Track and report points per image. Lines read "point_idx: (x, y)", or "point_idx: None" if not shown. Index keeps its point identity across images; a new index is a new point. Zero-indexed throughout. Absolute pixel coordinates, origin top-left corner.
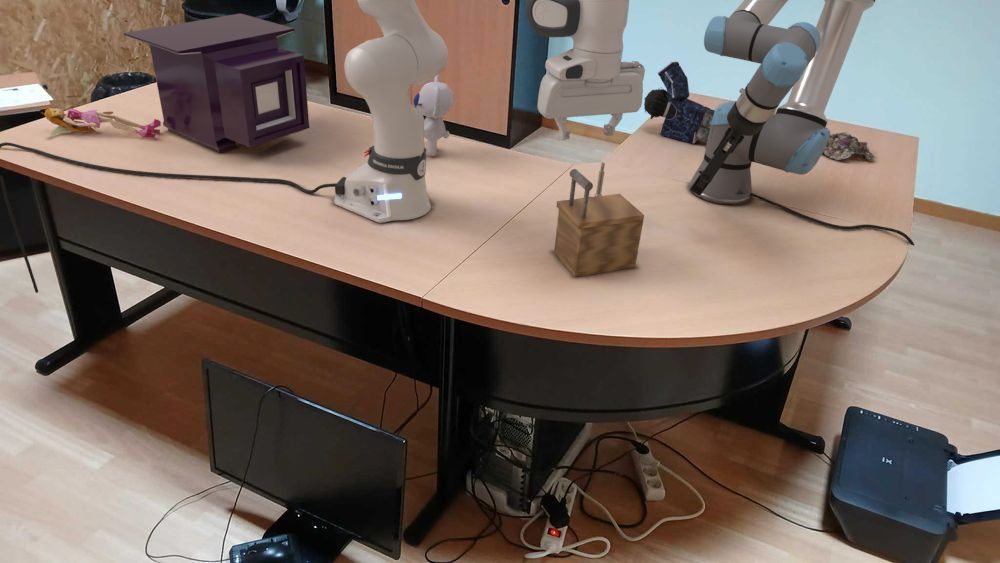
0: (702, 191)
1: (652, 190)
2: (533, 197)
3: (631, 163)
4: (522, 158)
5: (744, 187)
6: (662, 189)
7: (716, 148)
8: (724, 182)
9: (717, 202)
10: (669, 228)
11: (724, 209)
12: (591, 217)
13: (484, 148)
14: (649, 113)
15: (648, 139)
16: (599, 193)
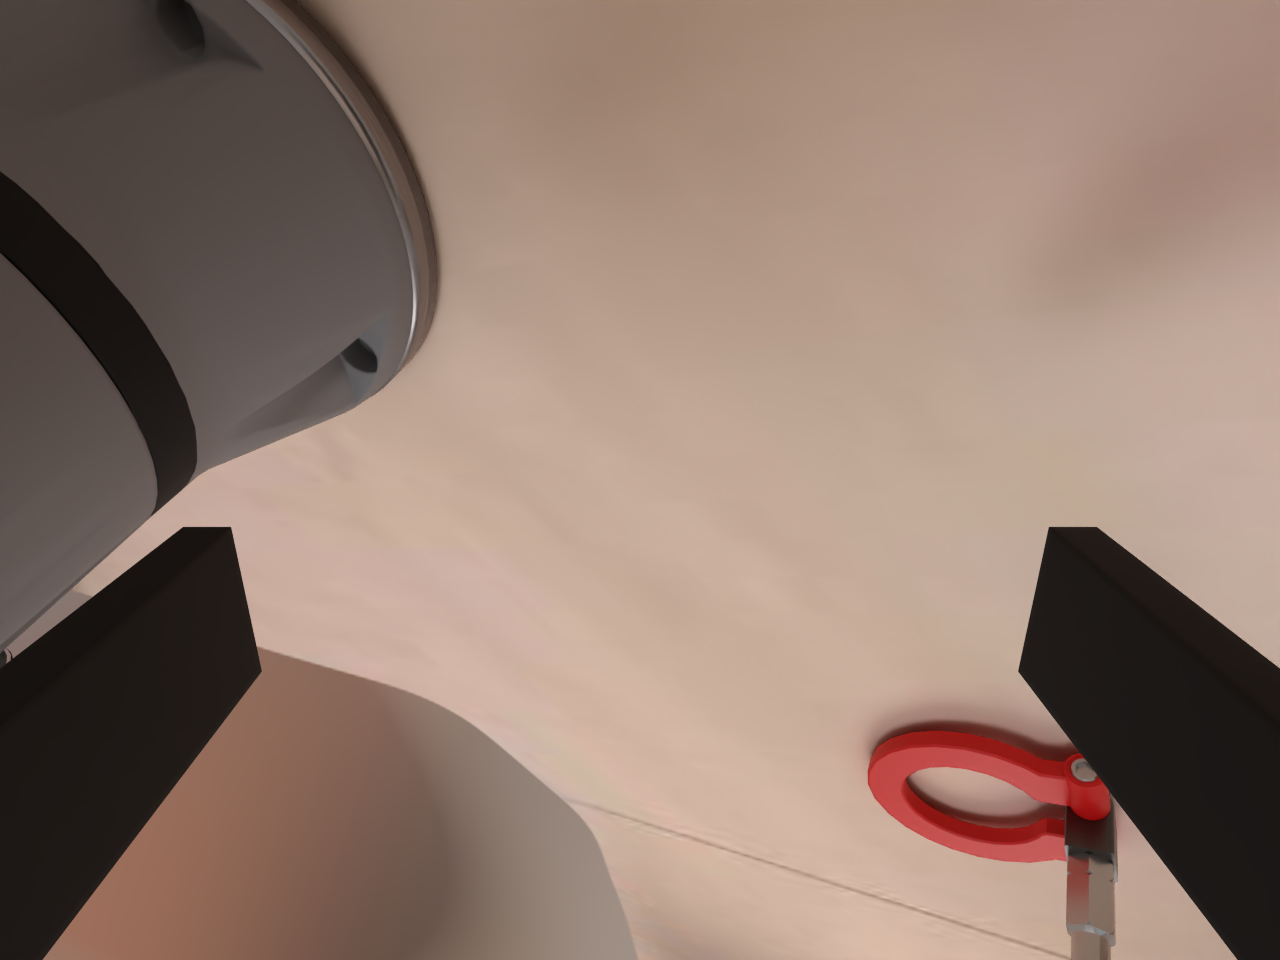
0: (1155, 583)
1: (556, 559)
2: (985, 936)
3: (363, 634)
4: (644, 901)
5: (96, 14)
6: (502, 516)
7: (200, 748)
8: (251, 237)
9: (411, 176)
10: (1117, 444)
11: (457, 84)
12: None
13: (654, 955)
14: (4, 658)
15: (114, 579)
16: (1110, 953)
